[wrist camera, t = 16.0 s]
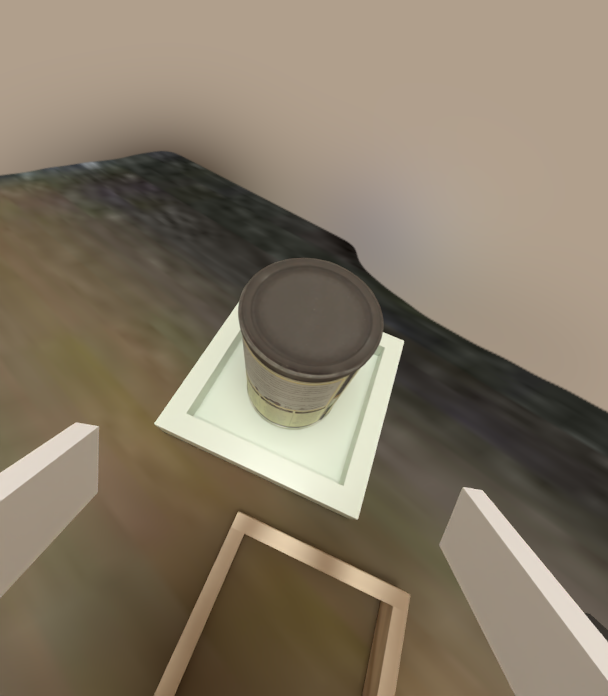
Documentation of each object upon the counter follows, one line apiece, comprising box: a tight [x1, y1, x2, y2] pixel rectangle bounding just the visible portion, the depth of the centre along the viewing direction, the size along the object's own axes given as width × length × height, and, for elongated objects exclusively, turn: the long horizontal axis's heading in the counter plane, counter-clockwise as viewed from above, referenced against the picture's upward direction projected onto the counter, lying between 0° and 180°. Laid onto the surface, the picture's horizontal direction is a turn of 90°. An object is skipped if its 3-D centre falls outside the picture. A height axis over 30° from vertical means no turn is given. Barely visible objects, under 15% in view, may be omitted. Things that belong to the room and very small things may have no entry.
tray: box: [154, 303, 404, 520], centre depth 32 cm, size 20×20×3 cm
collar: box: [154, 511, 410, 696], centre depth 21 cm, size 15×15×2 cm
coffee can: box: [238, 258, 383, 430], centre depth 26 cm, size 10×10×14 cm
